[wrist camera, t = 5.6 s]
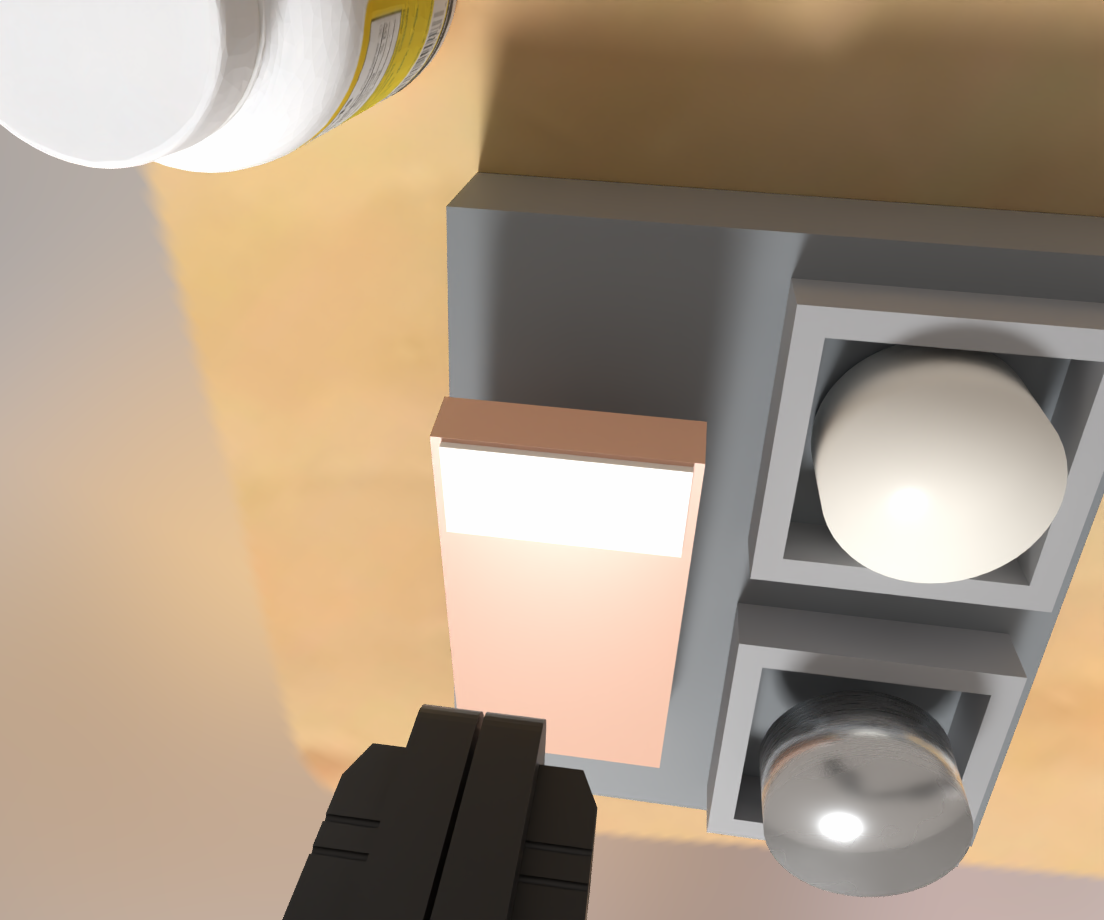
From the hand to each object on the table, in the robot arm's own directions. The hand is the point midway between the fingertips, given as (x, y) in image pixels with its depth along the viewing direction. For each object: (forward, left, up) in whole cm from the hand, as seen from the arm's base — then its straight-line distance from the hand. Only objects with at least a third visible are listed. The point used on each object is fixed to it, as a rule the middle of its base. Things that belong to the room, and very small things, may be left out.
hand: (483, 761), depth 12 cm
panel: (-4, +4, -14) cm, 15 cm away
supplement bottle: (+6, -8, -14) cm, 17 cm away
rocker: (0, +4, -9) cm, 9 cm away
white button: (-7, 0, -10) cm, 12 cm away
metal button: (-7, +8, -9) cm, 14 cm away
